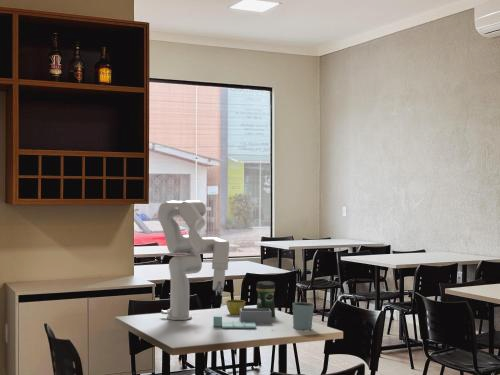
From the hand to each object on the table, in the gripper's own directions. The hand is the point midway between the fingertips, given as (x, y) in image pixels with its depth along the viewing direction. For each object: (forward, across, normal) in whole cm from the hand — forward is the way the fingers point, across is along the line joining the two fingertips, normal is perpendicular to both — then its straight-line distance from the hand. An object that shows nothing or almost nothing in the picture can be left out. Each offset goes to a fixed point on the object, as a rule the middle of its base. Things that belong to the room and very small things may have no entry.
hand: (218, 301), depth 331 cm
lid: (+12, +2, +8) cm, 15 cm away
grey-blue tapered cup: (+11, +4, +41) cm, 42 cm away
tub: (+12, -11, +19) cm, 25 cm away
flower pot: (+14, -34, +11) cm, 38 cm away
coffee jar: (+13, -27, +26) cm, 39 cm away
